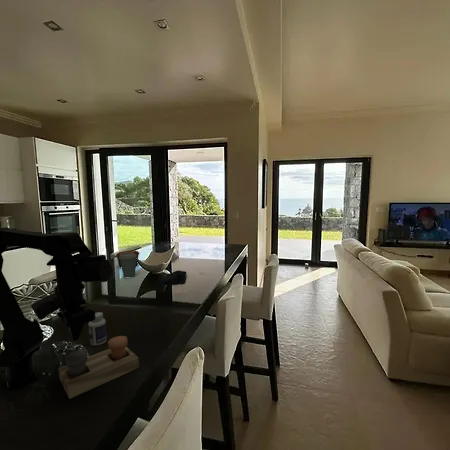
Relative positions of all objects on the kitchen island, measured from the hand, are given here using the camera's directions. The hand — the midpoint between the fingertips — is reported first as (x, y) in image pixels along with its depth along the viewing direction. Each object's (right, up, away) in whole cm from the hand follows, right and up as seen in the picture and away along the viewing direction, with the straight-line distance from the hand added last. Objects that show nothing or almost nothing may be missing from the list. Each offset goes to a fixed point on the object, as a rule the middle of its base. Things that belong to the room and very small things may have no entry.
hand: (74, 339), depth 73 cm
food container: (-31, -1, +129) cm, 133 cm away
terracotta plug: (+8, -8, +8) cm, 14 cm away
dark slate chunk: (+10, -3, +94) cm, 94 cm away
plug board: (+5, -11, +5) cm, 13 cm away
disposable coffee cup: (-21, -3, +102) cm, 104 cm away
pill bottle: (-4, -10, +22) cm, 25 cm away
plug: (0, -9, +1) cm, 9 cm away
